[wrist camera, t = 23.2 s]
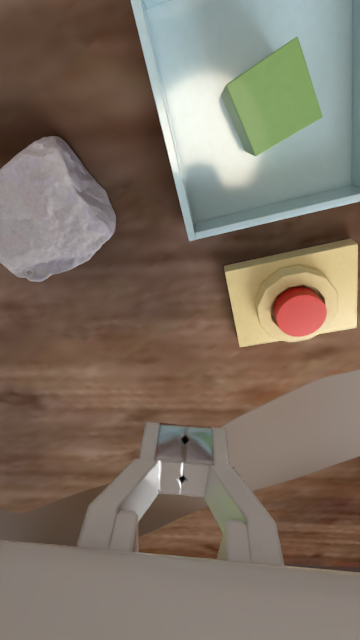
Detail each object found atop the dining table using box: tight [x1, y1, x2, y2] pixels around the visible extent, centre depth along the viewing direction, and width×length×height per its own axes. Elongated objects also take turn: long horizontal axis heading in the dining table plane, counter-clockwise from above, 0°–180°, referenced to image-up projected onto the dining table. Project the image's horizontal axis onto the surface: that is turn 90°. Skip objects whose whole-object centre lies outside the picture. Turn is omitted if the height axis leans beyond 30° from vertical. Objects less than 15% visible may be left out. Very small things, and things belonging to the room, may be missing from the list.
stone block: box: [0, 136, 116, 282], centre depth 30 cm, size 12×5×10 cm
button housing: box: [224, 239, 358, 347], centre depth 32 cm, size 12×9×4 cm
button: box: [273, 287, 327, 337], centre depth 30 cm, size 4×4×2 cm
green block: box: [221, 37, 322, 156], centre depth 22 cm, size 4×4×6 cm
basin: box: [130, 0, 360, 241], centre depth 24 cm, size 15×16×4 cm
